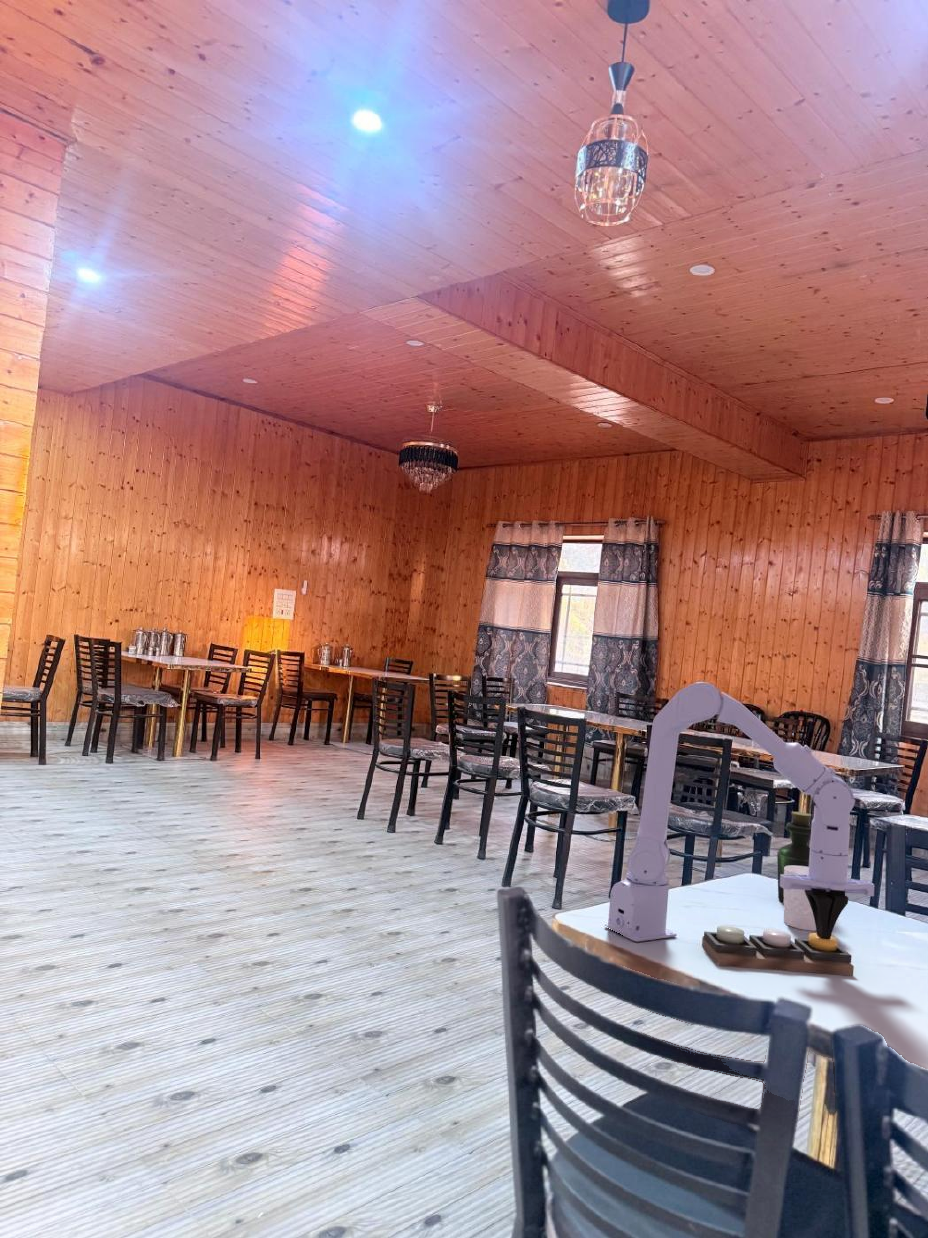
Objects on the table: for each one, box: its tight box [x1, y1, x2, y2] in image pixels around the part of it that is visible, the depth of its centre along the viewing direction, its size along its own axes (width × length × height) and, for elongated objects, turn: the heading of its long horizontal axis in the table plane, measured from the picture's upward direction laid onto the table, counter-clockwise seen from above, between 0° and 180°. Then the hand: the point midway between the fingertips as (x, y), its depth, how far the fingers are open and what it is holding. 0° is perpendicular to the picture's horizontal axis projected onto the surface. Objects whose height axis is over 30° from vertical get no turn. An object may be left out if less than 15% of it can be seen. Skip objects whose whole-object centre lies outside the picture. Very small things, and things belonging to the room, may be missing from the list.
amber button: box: [808, 932, 838, 951], centre depth 138 cm, size 4×4×1 cm
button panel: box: [701, 931, 854, 977], centre depth 138 cm, size 21×9×3 cm, turn 91°
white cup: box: [783, 865, 816, 932], centre depth 159 cm, size 8×8×10 cm
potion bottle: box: [776, 811, 812, 904], centre depth 175 cm, size 8×8×18 cm
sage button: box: [716, 925, 745, 943], centre depth 138 cm, size 4×4×1 cm
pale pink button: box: [762, 928, 792, 947], centre depth 138 cm, size 4×4×1 cm
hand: (823, 937), depth 138 cm, fingers closed
